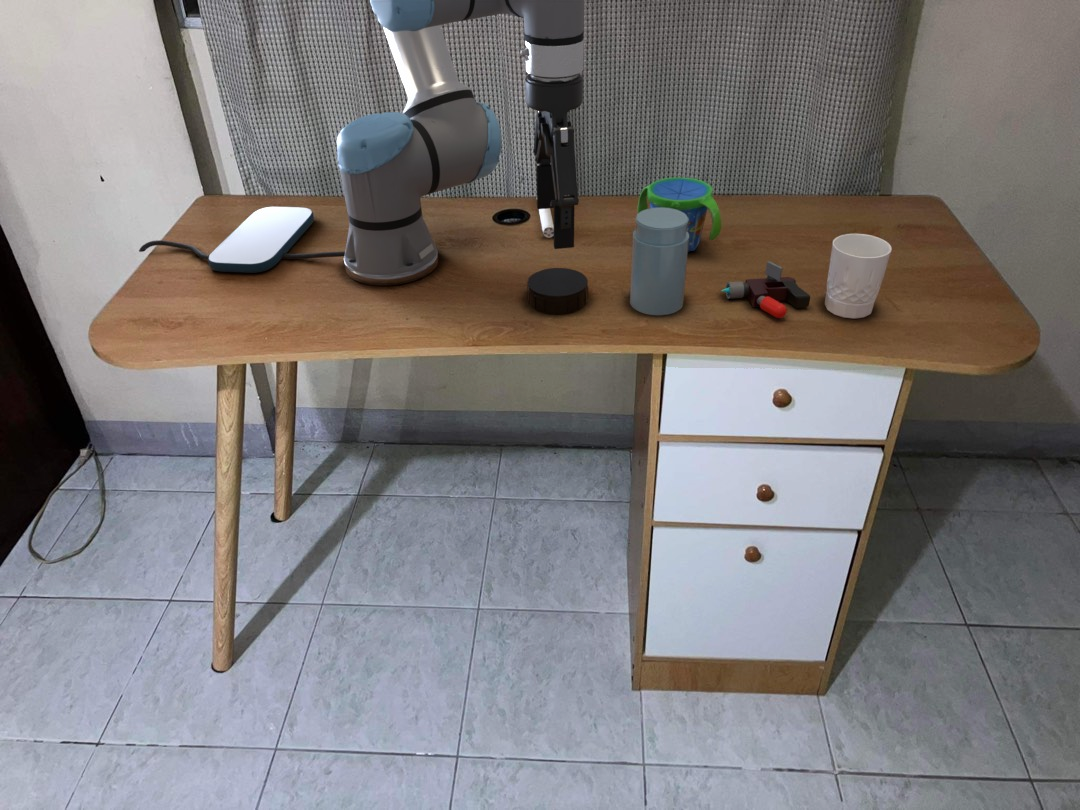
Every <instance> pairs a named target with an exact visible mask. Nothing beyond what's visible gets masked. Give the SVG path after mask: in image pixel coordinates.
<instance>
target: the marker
mask: <svg viewBox="0 0 1080 810" xmlns="http://www.w3.org/2000/svg"><path fill="white" fill-rule="evenodd" d="M538 214H539V218H540V225H541V230H542V234H543V236H544V237H545V238H548V239H550V238H553V237H554V219H553V217H552V211H551V208H548V209H538Z"/></svg>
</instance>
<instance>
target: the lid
mask: <svg viewBox="0 0 1080 810" xmlns="http://www.w3.org/2000/svg"><path fill="white" fill-rule="evenodd" d="M526 282H527V285H526V289H527V290H526V293H527V302H528V305H529V306H530V307H531V308H532V309H534V310H535V311H537V312H540V313H543V314H547V315H568V314H572V313H574V312H577V311H580V310H581V309H583V308H585V306H586V305H587V303H588V301H589V280H588V278H587V276H586V275H585V274H584V273H582V272H580V271H578V270H576V269H573V268H566V267H550V268H544V269H541V270H539V271H535V272H534V273H533V274H531V275H530V276H529V277H528V279H527V281H526Z"/></svg>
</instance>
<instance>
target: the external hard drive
mask: <svg viewBox="0 0 1080 810" xmlns="http://www.w3.org/2000/svg"><path fill="white" fill-rule="evenodd" d="M314 220H315V216H314V212H313V210H312V209H311V208H308V207H301V206H300V207H297V206H266V207H262V208H259V209H257V210H255V211H254V212H252V213H251V214H250V215H248V217H247V218H245V220H244V221H242V222H241V223H240V224H239V226H237V228H235V230H233V231H232V232H230V234H228V236H227V237H226V238H225V239H224V240H223V241H222V242H221V243H220V244H219V245H217V246H216V247H215V248H214V249H213V250H212V251H211V253H210V254H208V255H209V257H208V260H207V262H208V265H209V267H210V268H211V269H212V270H213V271H215V272H221V273H223V272H224V273H225V272H226V273H246V274H247V273H248V274H249V273H250V274H251V273H252V274H253V273H256V274H257V273H263V272H266V271H268V270H270V269H272V268H273V267H275V266H277V264H278V263H279V262H280V261H281V260H282V259H281V258H282V257H283V254H288V252H289V250H290V249H292V247H293V246H294V245H295V244H296V243H297V242H298V241H299V239H300V238H301V237H302V236H303V235H304V234H305V233H306V231H307V230H308V229H309V228H310V227H311V225H312V224H313V223H314Z"/></svg>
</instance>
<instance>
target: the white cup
mask: <svg viewBox="0 0 1080 810" xmlns="http://www.w3.org/2000/svg"><path fill="white" fill-rule="evenodd" d="M831 243H832V244H831V250H830V251H831V252H830V256H829V257H830V259H829V264H828V271H827V281H826V293H825V298H824V306H825V308H826V310H827V311H828V312H830V313H831V314H832V315H835V316H838V317H841V318H845V319H854V320H855V319H862V318H866V317H868V316H870V315H871V314H872V312H873V309H874V307H875V303H876V299H877V297H878V296H879V294H880V289H881V286H882V284H883V281H884V277H885V274H886V270H887V267H888V263H889V260H890V257H891V255H892V250H893V248H892V245H891V244H890V243H889V242H888V241H886V239H885V240H884V239H883V238H881V237H878V236H875V235H871V234H867V233H845V234H841V235H839V236H836V237H835V238H834V239H832V242H831Z"/></svg>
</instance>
